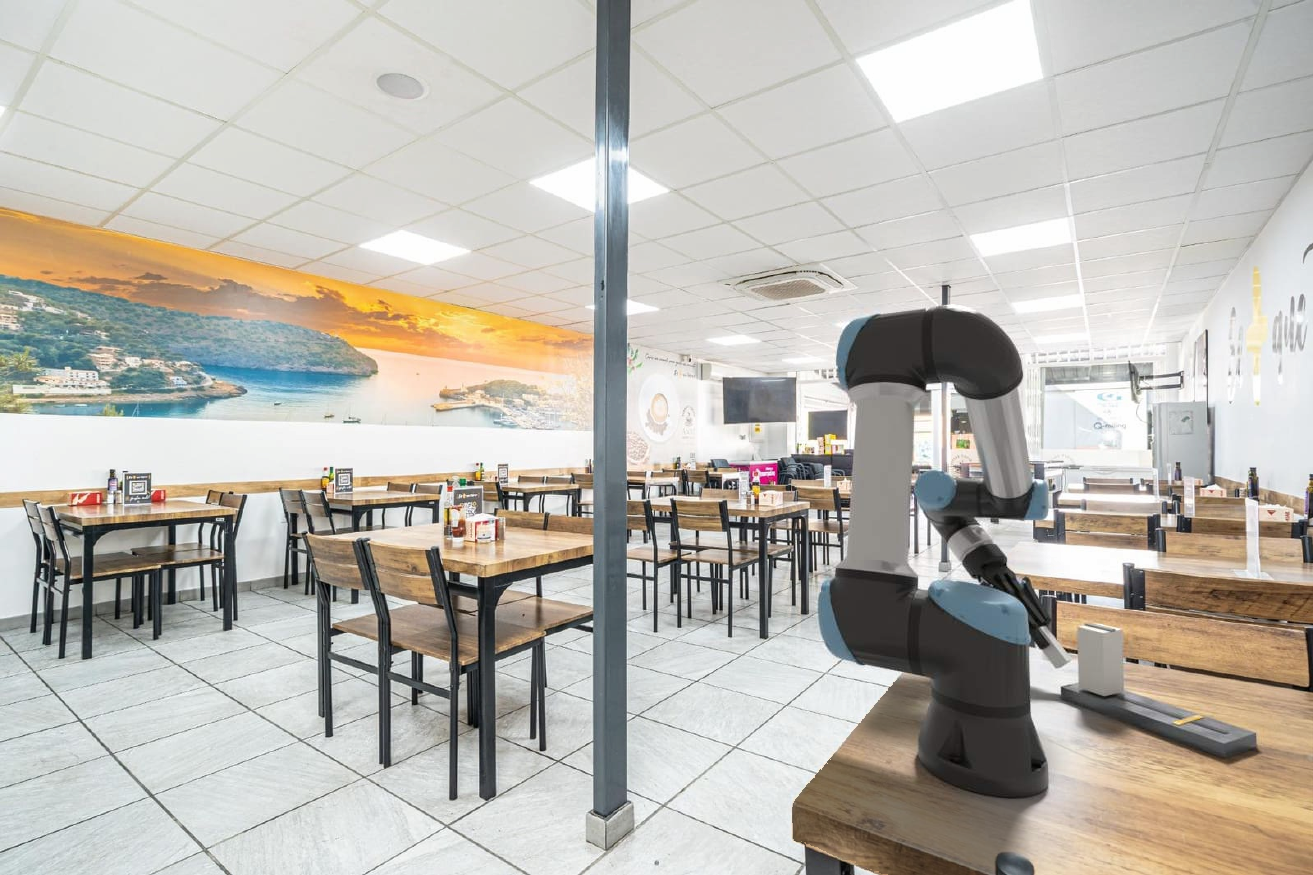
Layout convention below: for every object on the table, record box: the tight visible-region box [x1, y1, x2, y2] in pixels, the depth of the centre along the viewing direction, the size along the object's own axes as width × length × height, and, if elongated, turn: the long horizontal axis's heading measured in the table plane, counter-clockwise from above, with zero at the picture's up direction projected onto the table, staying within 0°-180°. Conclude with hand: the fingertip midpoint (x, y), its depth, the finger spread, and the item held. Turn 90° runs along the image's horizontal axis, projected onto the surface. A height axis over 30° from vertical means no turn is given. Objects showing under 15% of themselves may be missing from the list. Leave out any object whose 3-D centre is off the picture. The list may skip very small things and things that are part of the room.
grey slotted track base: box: [1060, 681, 1258, 759], centre depth 94 cm, size 22×8×2 cm, turn 23°
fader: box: [1076, 622, 1125, 696], centre depth 101 cm, size 4×5×10 cm
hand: (1063, 664), depth 106 cm, fingers closed
